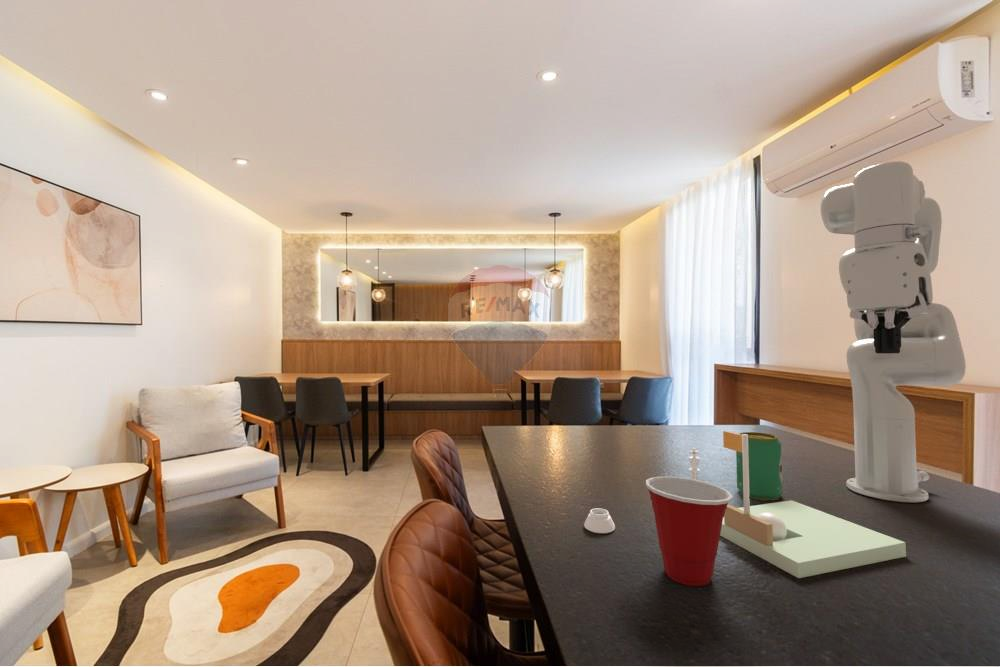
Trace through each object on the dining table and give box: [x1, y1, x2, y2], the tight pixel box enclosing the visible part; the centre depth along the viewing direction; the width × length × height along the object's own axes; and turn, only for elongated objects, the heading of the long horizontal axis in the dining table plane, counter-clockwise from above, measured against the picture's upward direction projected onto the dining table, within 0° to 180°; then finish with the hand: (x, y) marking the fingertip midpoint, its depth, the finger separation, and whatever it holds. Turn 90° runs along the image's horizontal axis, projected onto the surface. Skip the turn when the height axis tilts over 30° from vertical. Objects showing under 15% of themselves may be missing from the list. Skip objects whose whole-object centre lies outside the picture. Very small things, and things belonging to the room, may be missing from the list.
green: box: [720, 430, 907, 579], centre depth 70 cm, size 20×18×17 cm
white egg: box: [756, 512, 787, 541], centre depth 68 cm, size 5×5×5 cm
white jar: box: [583, 507, 616, 535], centre depth 74 cm, size 5×3×5 cm
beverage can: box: [735, 431, 783, 501], centre depth 90 cm, size 8×8×12 cm
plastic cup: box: [645, 476, 734, 587], centre depth 59 cm, size 11×11×12 cm
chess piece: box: [688, 447, 701, 481], centre depth 88 cm, size 5×5×10 cm
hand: (887, 353), depth 72 cm, fingers closed
